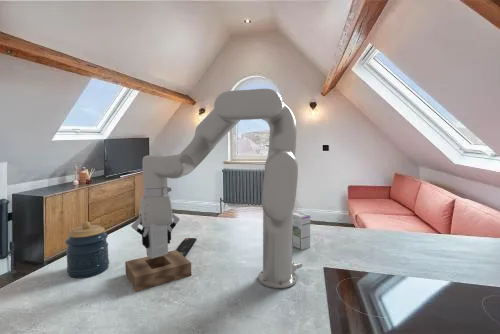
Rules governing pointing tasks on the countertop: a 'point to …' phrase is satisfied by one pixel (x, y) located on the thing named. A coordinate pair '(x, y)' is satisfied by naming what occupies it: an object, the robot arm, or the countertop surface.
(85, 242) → the canister
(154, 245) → the skincare box
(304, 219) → the syrup box
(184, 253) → the remote control
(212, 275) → the countertop surface
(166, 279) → the frame
